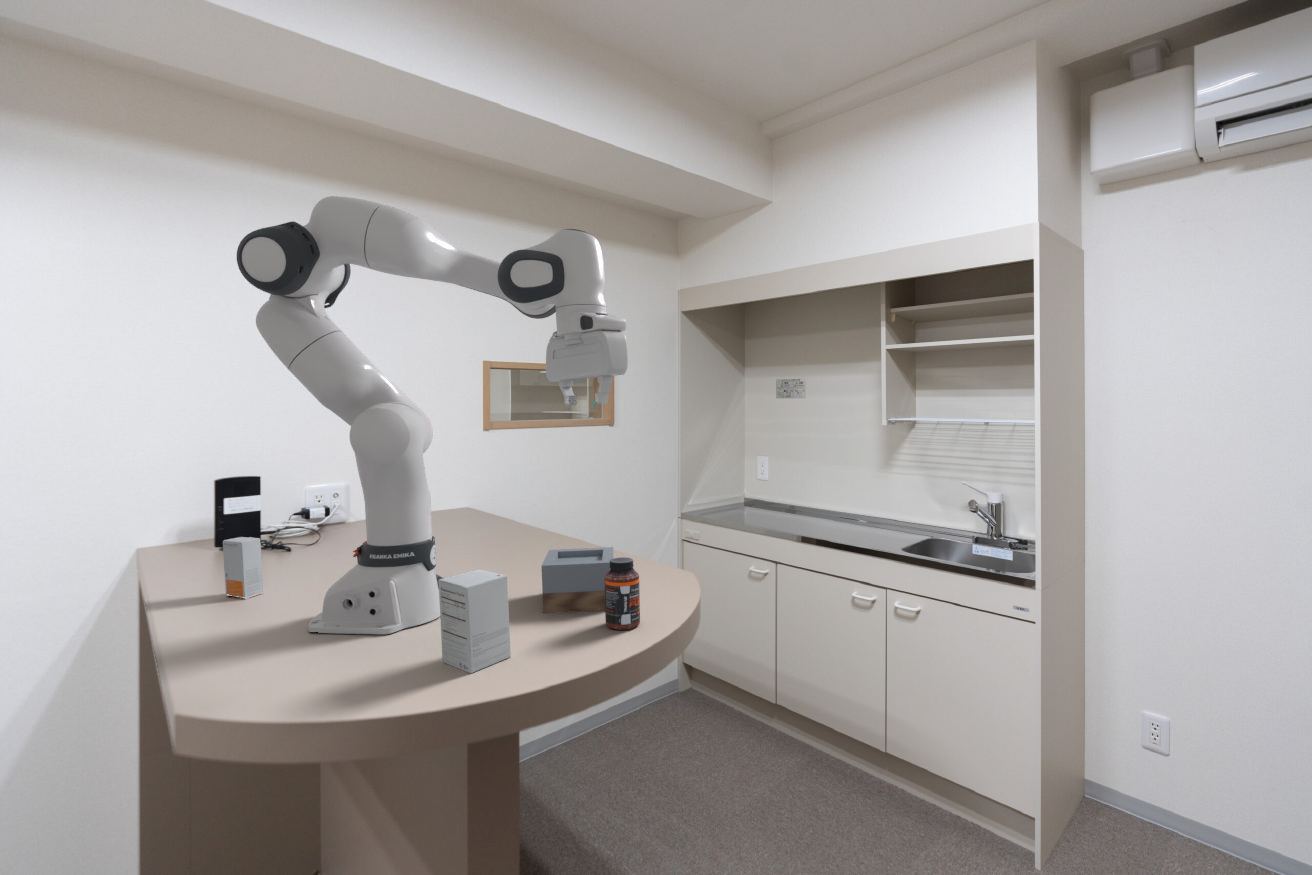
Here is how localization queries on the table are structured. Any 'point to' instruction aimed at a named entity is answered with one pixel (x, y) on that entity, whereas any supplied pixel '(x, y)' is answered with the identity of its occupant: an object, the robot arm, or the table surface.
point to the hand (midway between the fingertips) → (586, 404)
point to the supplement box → (474, 619)
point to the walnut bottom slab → (574, 602)
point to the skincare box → (243, 566)
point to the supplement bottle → (622, 595)
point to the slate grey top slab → (576, 570)
